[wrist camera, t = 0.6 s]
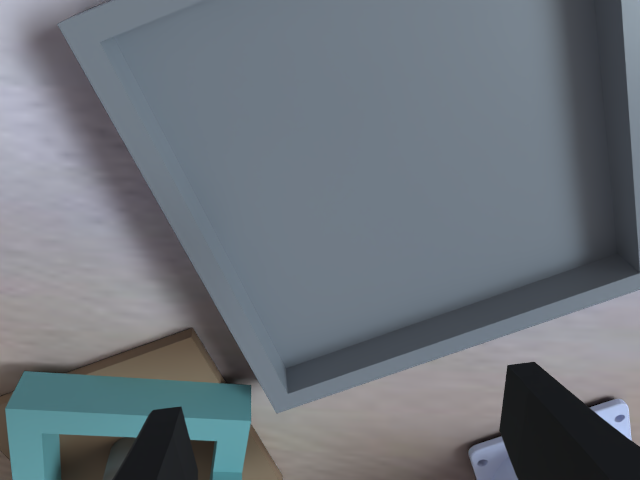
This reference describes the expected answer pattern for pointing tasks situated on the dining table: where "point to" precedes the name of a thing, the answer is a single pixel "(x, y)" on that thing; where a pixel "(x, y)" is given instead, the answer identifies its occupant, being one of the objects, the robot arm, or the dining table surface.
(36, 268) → the dining table surface
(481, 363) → the dining table surface
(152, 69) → the tray
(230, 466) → the collar
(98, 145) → the dining table surface
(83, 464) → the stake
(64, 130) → the dining table surface
